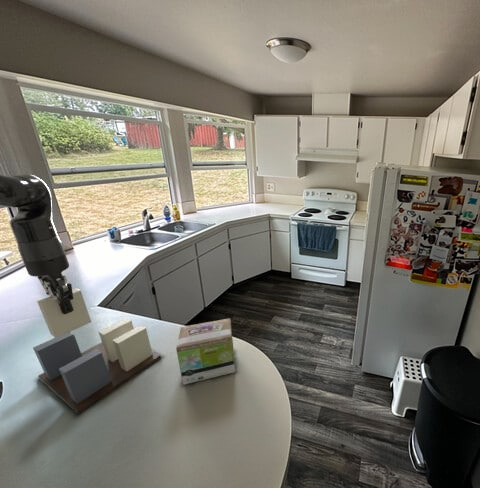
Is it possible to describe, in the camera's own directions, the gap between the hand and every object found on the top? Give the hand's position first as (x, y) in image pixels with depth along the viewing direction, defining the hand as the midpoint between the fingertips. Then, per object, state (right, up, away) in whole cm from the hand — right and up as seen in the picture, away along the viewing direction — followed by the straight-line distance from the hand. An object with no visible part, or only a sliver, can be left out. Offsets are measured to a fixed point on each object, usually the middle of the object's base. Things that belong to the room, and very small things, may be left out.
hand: (65, 310), depth 71 cm
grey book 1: (-7, -20, +7) cm, 23 cm away
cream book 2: (+5, -18, +14) cm, 24 cm away
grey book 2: (+7, -23, +1) cm, 24 cm away
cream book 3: (+12, -20, +11) cm, 26 cm away
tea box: (+36, -22, +11) cm, 44 cm away
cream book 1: (0, -6, +2) cm, 6 cm away
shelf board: (+2, -21, +10) cm, 23 cm away
